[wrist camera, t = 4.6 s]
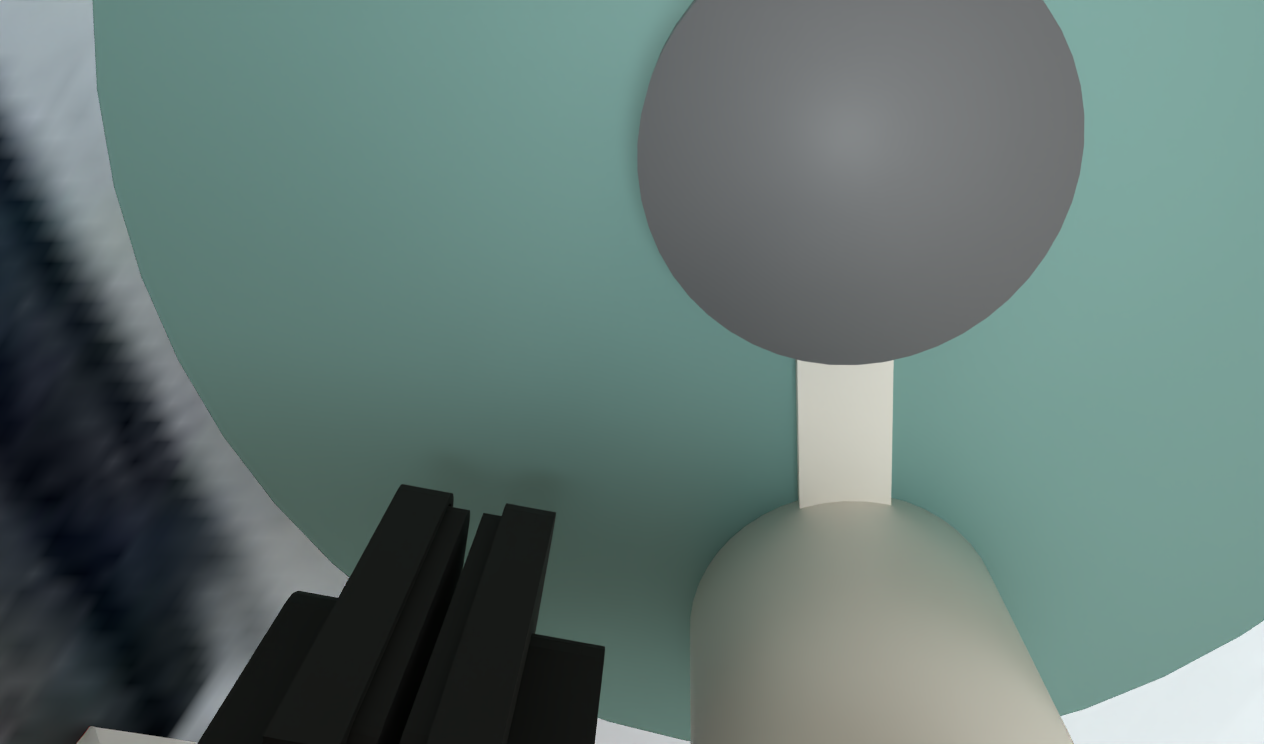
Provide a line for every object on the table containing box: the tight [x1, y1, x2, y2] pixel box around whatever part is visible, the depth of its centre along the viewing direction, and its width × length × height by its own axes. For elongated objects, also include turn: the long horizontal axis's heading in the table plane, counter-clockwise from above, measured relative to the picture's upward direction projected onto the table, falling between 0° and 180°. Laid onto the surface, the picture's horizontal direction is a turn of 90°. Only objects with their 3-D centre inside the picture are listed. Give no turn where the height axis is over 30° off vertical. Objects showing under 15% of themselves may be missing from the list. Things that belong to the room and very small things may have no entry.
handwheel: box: [93, 0, 1264, 744], centre depth 9 cm, size 15×15×6 cm
